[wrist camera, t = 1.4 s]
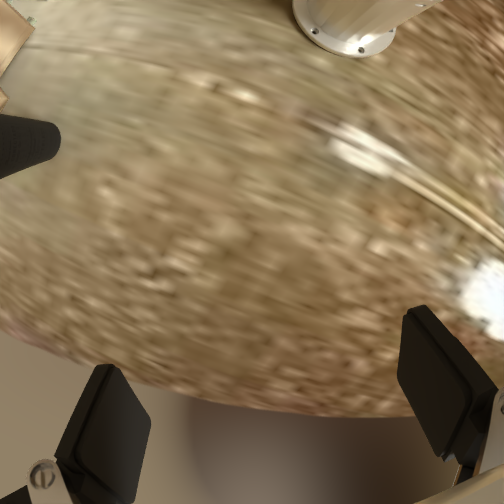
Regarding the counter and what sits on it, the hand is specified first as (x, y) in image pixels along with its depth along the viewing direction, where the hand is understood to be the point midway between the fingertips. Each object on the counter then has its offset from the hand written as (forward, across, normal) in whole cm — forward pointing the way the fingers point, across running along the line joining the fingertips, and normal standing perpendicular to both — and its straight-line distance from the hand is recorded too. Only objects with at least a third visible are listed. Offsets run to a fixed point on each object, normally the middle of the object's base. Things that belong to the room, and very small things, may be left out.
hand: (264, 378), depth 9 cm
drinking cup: (+27, +22, -13) cm, 37 cm away
